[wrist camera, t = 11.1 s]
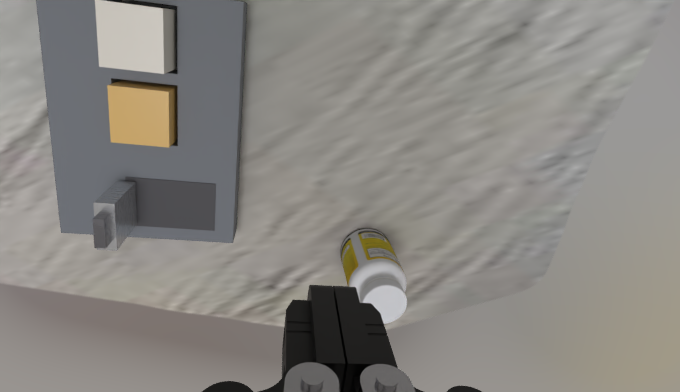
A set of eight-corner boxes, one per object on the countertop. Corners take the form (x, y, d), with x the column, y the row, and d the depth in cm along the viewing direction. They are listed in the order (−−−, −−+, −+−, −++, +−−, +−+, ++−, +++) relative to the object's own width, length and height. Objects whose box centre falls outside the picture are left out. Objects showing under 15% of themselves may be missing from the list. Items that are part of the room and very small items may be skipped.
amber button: (125, 79, 38) (107, 85, 34) (180, 85, 38) (168, 91, 34) (127, 130, 39) (110, 142, 35) (180, 135, 40) (169, 147, 36)
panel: (53, -24, 35) (32, -28, 32) (246, 3, 37) (243, 1, 34) (75, 218, 42) (60, 233, 39) (236, 229, 44) (232, 243, 42)
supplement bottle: (354, 280, 48) (370, 340, 39) (330, 242, 46) (341, 296, 37) (398, 257, 48) (424, 313, 39) (376, 218, 46) (398, 267, 37)
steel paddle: (117, 180, 38) (86, 208, 32) (135, 181, 38) (108, 210, 32) (119, 222, 39) (90, 256, 34) (137, 223, 40) (111, 258, 34)
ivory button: (115, 1, 34) (94, -1, 30) (176, 9, 35) (162, 8, 31) (118, 62, 36) (99, 66, 32) (176, 68, 36) (163, 74, 33)
